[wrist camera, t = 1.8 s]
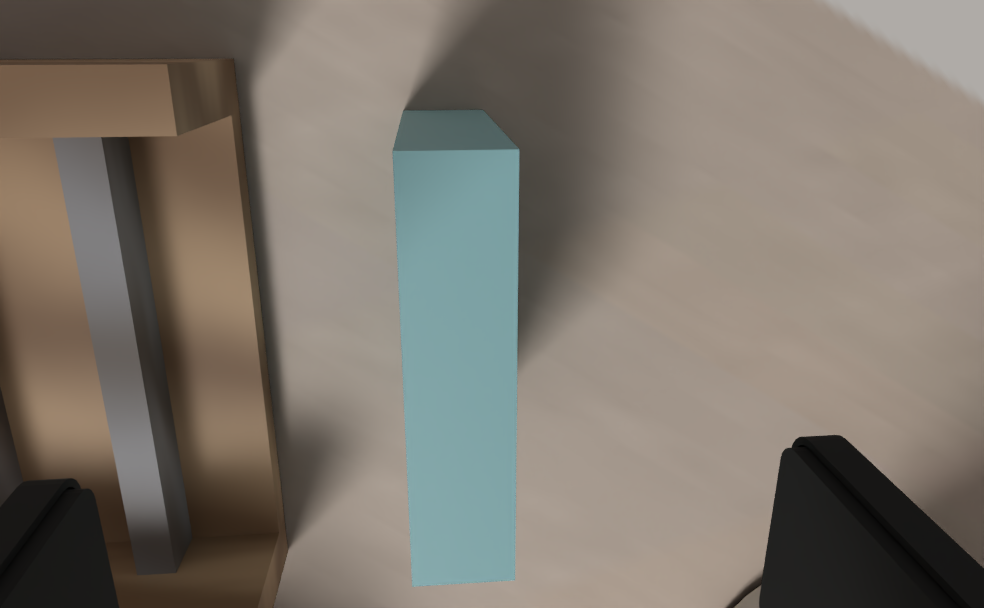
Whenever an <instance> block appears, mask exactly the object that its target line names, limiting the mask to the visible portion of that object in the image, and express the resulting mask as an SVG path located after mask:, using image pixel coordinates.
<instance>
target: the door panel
mask: <svg viewBox="0 0 984 608" xmlns="http://www.w3.org/2000/svg"><path fill="white" fill-rule="evenodd" d="M393 171H394V193H395V215H396V237H397V259H398V281H399V303H400V325H401V347H402V369H403V391H404V414H405V436H406V458H407V480H408V502H409V524H410V546H411V568H412V587H414V586H430V585H446V584H462V583H478V582H494V581H510V580H515V530H516V432H517V334H518V236H519V148H518V147H517V146H516V145H515V144H514V143H513V142H512V141H511V140H510V139H509V138H508V137H507V135H506V134H505V133H504V132H503V131H502V130H501V129H500V128H499V127H498V126H497V125H496V123H495V122H494V121H493V120H492V119H491V118H490V117H489V116H488V115H487V114H486V113H485V112H484V110H406V111H403V114H402V117H401V121H400V125H399V129H398V133H397V136H396V140H395V144H394V148H393Z"/></svg>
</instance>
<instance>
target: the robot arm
mask: <svg viewBox="0 0 984 608" xmlns="http://www.w3.org/2000/svg"><path fill="white" fill-rule="evenodd" d="M0 608H119V604H118V599H117V595H116V590H115V586H114V581H113V576H112V572H111V567H110V563H109V558H108V553H107V549H106V544H105V540H104V535H103V530H102V526H101V521H100V517H99V512H98V507H97V503H96V499H95V496H94V493H93V492H92V490H90V489H88V488H87V489H81V487H80V484H79V483H78V482H77V480H75V479H73V478H64V479H46V480H29V481H24V482H22V483H21V484H20V485H19V486H18V487H17V488H16V489H15V490H14V491H13V492H12V494H11V495H10V496H9V497H8V498H7V499H6V501H5V502H4V503H3V504H2V505H1V507H0ZM734 608H984V568H983V567H982V566H980V565H979V564H978V563H977V562H976V561H975V560H974V559H973V558H972V557H971V556H970V555H969V554H968V553H967V552H966V551H964V550H963V549H962V548H961V547H960V546H959V545H958V544H957V543H956V542H955V541H954V540H953V539H952V538H951V537H950V536H949V535H947V534H946V533H945V532H944V531H943V530H942V529H941V528H940V527H939V526H938V525H937V524H936V523H935V522H934V521H933V520H931V519H930V518H929V517H928V516H927V515H926V514H925V513H924V512H923V511H922V510H921V509H920V508H919V507H918V506H917V505H916V504H914V503H913V502H912V501H911V500H910V499H909V498H908V497H907V496H906V495H905V494H904V493H903V492H902V491H901V490H900V489H898V488H897V487H896V486H895V485H894V484H893V483H892V482H891V481H890V480H889V479H888V478H887V477H886V476H885V475H884V474H882V473H881V472H880V471H879V470H878V469H877V468H876V467H875V466H874V465H873V464H872V463H871V462H870V461H869V460H868V459H867V458H865V457H864V456H863V455H862V454H861V453H860V452H859V451H858V450H857V449H856V448H855V447H854V446H853V445H852V444H851V443H849V442H848V441H847V440H846V439H845V438H843V437H842V436H840V435H827V436H810V437H799V438H797V439H796V440H795V441H794V443H793V445H792V448H787V449H785V450H784V451H783V453H782V456H781V460H780V467H779V473H778V480H777V486H776V493H775V499H774V506H773V512H772V519H771V525H770V532H769V538H768V544H767V551H766V557H765V564H764V570H763V577H762V583H761V586H759V587H758V588H756V589H755V590H754V591H752V592H751V593H749V594H748V595H747V596H746V597H745V598H743V599H742V600H741V601H740V602H739V603H738V604H737V605H736V606H735V607H734Z"/></svg>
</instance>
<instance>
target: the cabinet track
mask: <svg viewBox="0 0 984 608" xmlns="http://www.w3.org/2000/svg"><path fill="white" fill-rule="evenodd" d="M64 478H73V479H75V480H77V482H78V483H79V484H80V487H81V489H87V488H88V489H90V490H92V492H93V493H94V496H95V499H96V503H97V507H98V512H99V517H100V521H101V526H102V530H103V535H104V540H105V544H106V549H107V553H108V558H109V563H110V567H111V572H112V576H113V581H114V586H115V590H116V595H117V599H118V604H119V608H273V606H274V602H275V599H276V595H277V591H278V587H279V583H280V580H281V576H282V572H283V568H284V564H285V560H286V557H287V553H288V546H287V537H286V528H285V519H284V509H283V500H282V491H281V482H280V473H279V464H278V455H277V446H276V437H275V428H274V419H273V410H272V401H271V392H270V383H269V374H268V365H267V356H266V347H265V338H264V329H263V320H262V310H261V301H260V292H259V283H258V274H257V265H256V256H255V247H254V238H253V229H252V220H251V211H250V202H249V193H248V184H247V175H246V166H245V157H244V148H243V139H242V130H241V121H240V111H239V102H238V93H237V84H236V75H235V66H234V59H8V60H0V507H1V505H2V504H3V503H4V502H5V501H6V499H7V498H8V497H9V496H10V495H11V494H12V492H13V491H14V490H15V489H16V488H17V487H18V486H19V485H20V484H21V483H22V482H24V481H29V480H46V479H64Z"/></svg>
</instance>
